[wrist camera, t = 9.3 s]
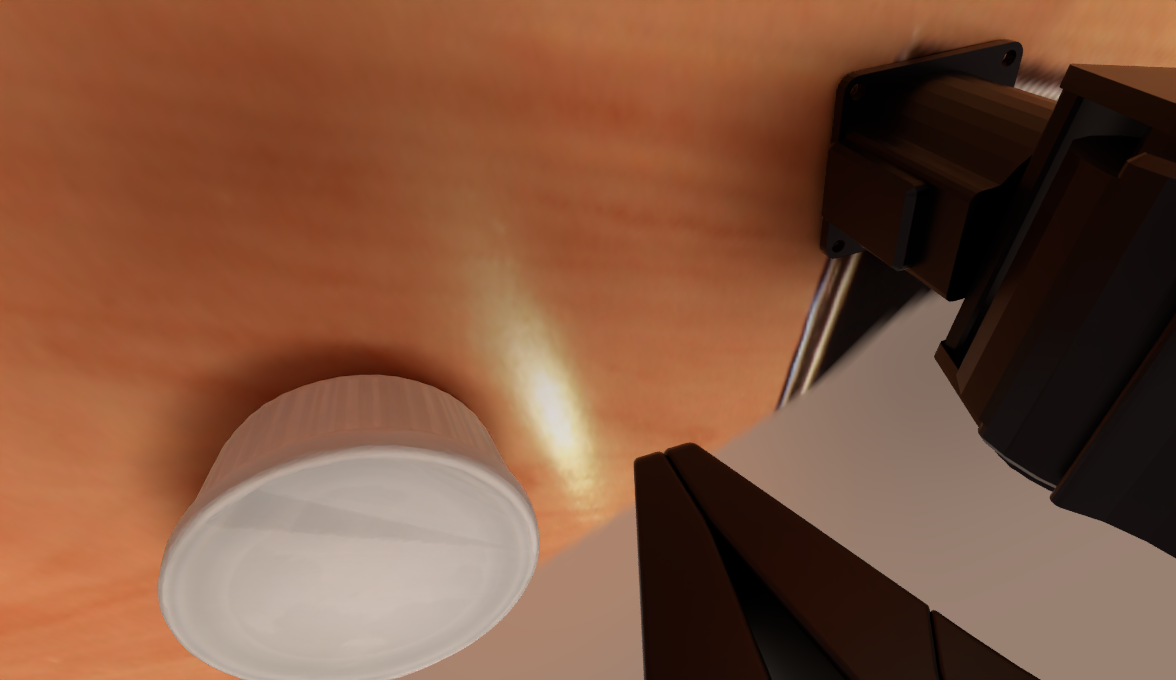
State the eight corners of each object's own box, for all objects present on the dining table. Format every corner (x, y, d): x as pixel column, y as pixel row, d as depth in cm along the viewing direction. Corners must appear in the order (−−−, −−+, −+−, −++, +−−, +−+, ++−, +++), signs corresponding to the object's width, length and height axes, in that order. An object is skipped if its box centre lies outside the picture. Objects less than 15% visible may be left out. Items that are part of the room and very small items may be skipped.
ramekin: (488, 311, 22) (516, 411, 18) (530, 521, 29) (558, 630, 24) (129, 388, 20) (67, 520, 16) (263, 594, 27) (245, 726, 22)
